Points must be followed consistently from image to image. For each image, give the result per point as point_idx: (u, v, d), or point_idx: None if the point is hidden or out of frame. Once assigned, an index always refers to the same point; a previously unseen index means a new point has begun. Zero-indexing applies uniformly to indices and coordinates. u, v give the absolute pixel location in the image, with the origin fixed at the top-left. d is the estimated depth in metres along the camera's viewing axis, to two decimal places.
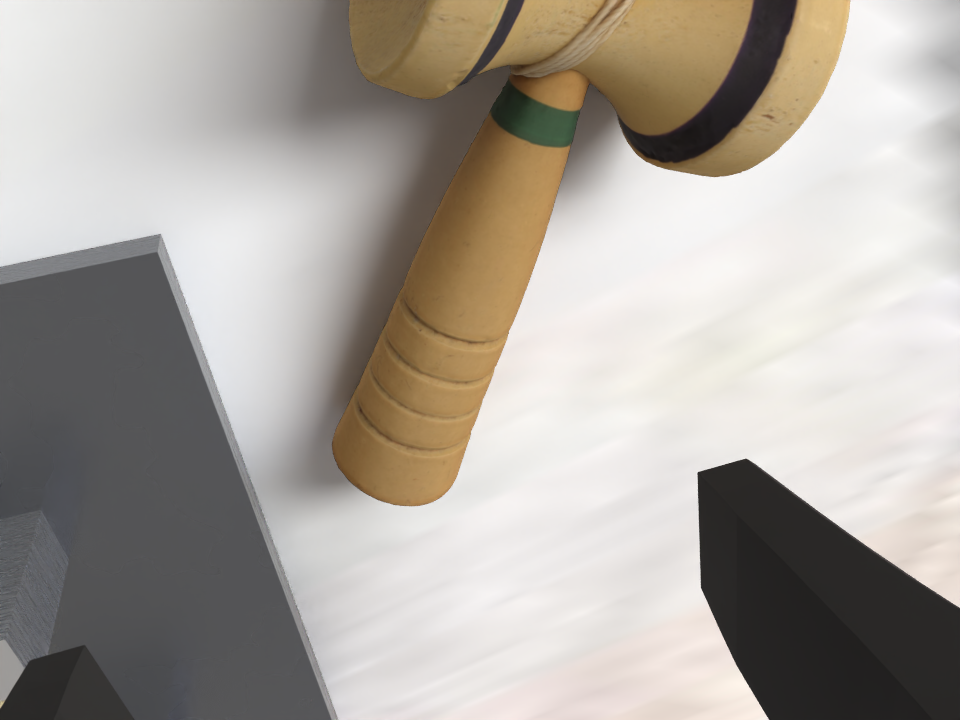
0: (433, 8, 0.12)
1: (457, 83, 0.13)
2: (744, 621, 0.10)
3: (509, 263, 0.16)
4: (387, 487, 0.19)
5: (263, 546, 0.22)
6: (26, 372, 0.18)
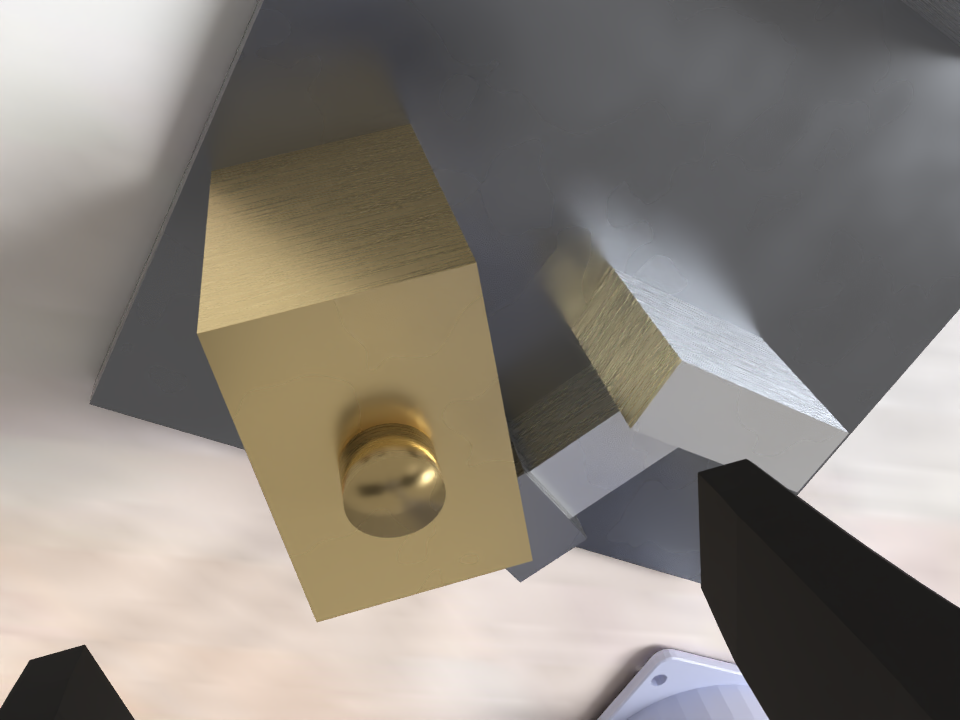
0: None
1: None
2: (744, 621, 0.10)
3: None
4: None
5: None
6: None
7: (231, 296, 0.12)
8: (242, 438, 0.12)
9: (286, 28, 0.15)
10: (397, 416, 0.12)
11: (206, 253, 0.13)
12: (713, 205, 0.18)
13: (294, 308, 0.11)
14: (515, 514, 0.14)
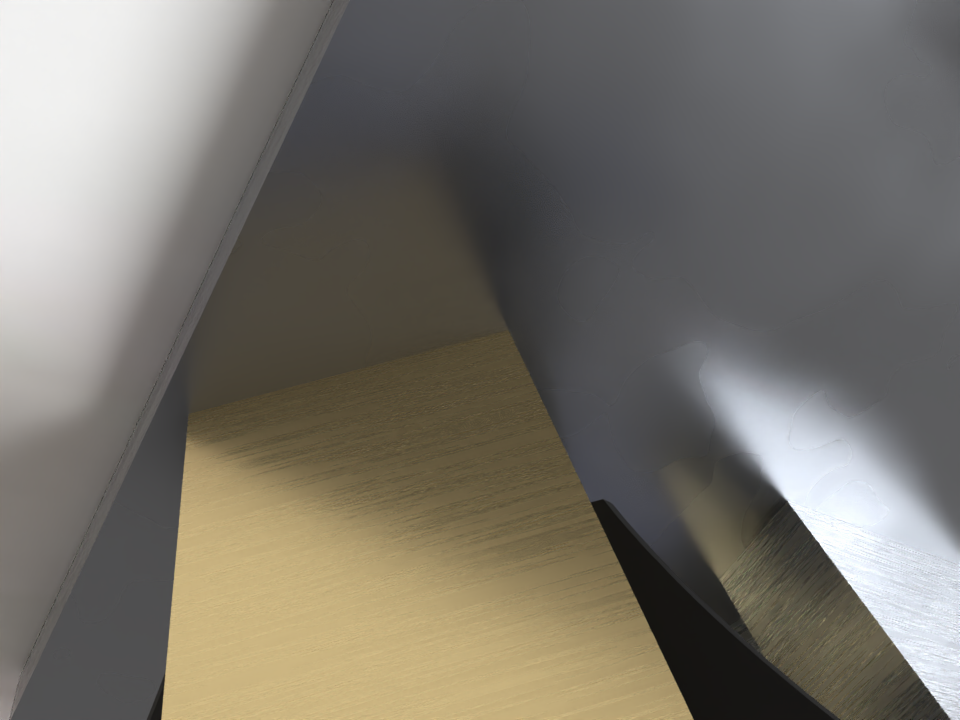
0: None
1: None
2: None
3: None
4: None
5: None
6: None
7: None
8: None
9: (312, 200, 0.09)
10: None
11: (171, 664, 0.07)
12: (942, 413, 0.12)
13: None
14: None
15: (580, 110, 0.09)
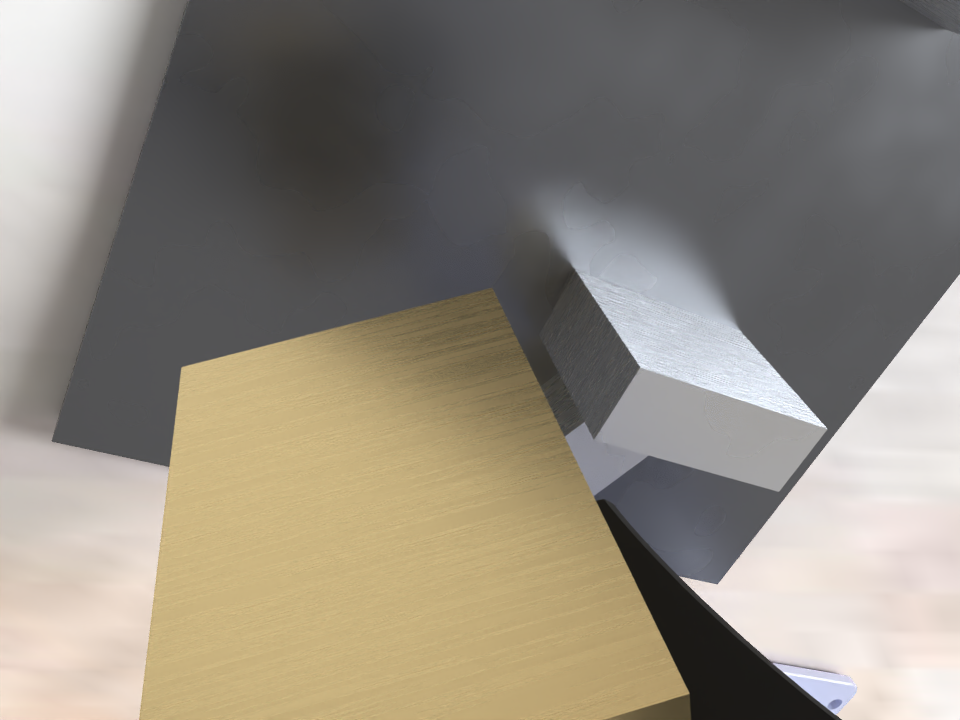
0: None
1: None
2: None
3: None
4: None
5: None
6: None
7: None
8: None
9: (207, 51, 0.14)
10: None
11: (159, 586, 0.07)
12: (675, 199, 0.18)
13: None
14: None
15: None
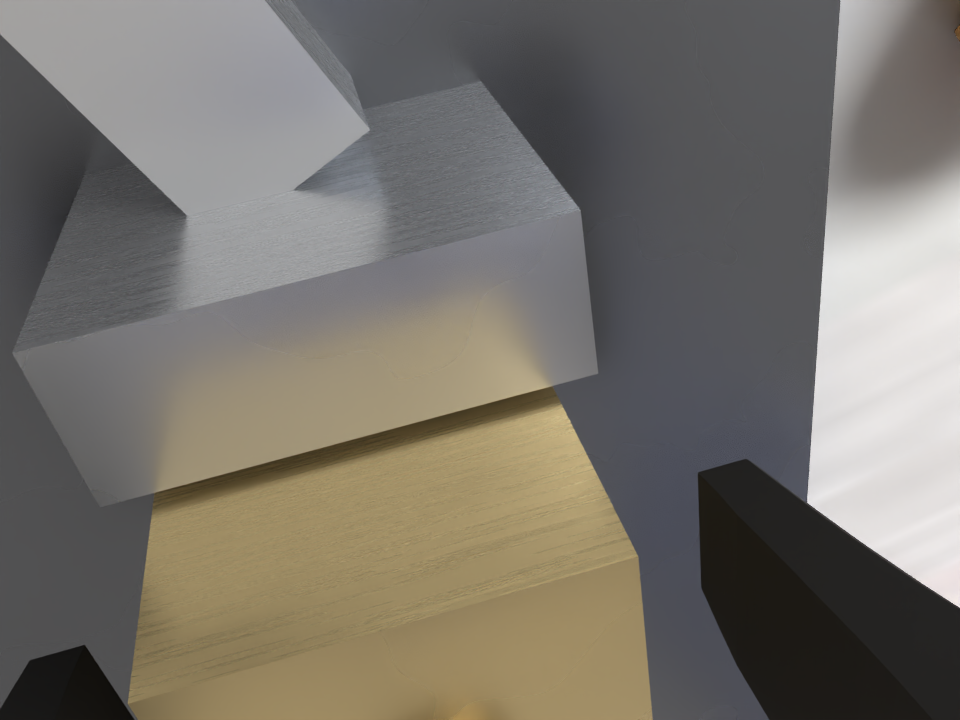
0: None
1: None
2: (744, 621, 0.10)
3: None
4: None
5: (820, 206, 0.12)
6: None
7: (194, 599, 0.07)
8: None
9: None
10: None
11: None
12: None
13: (308, 650, 0.06)
14: None
15: None
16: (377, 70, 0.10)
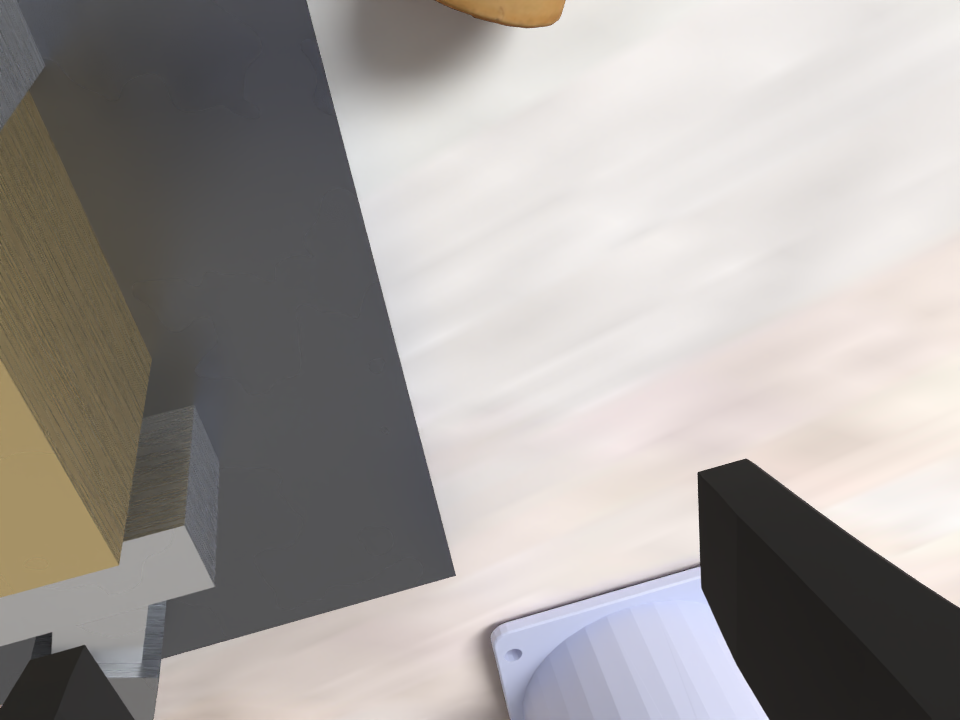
0: None
1: None
2: (744, 621, 0.10)
3: None
4: None
5: (319, 72, 0.15)
6: None
7: None
8: None
9: None
10: None
11: None
12: None
13: None
14: (77, 513, 0.12)
15: None
16: None
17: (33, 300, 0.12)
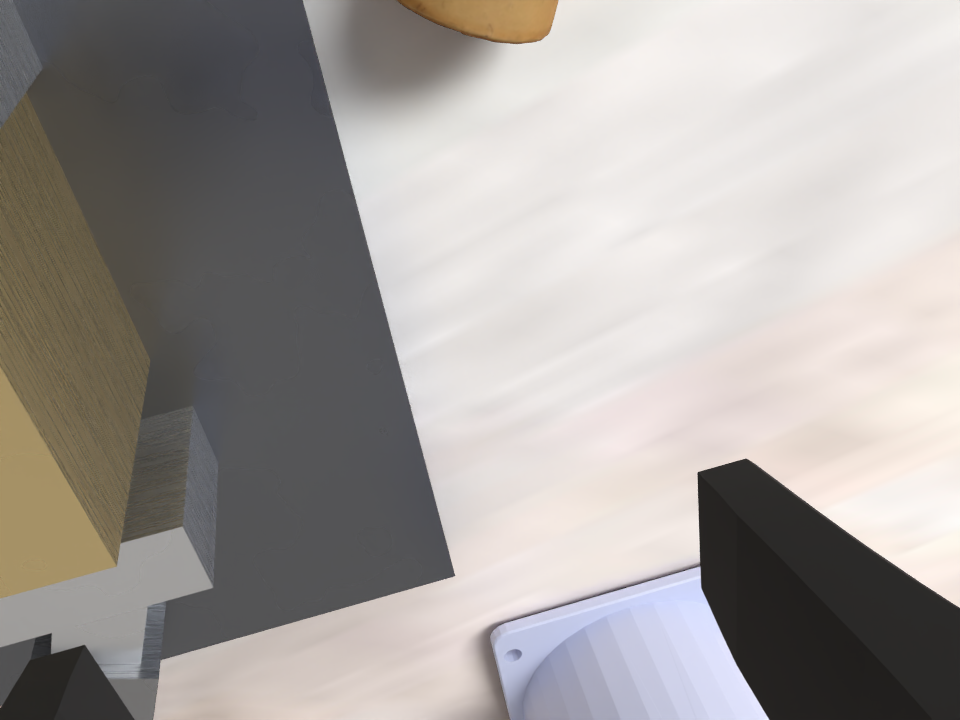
0: None
1: None
2: (744, 621, 0.10)
3: None
4: (461, 0, 0.13)
5: (316, 73, 0.15)
6: None
7: None
8: None
9: None
10: None
11: None
12: None
13: None
14: (75, 514, 0.12)
15: None
16: None
17: (30, 301, 0.12)
